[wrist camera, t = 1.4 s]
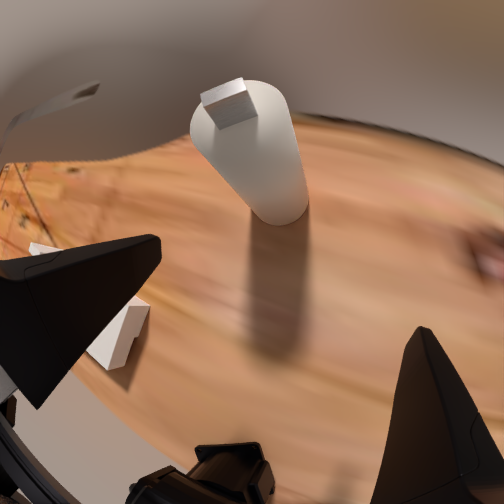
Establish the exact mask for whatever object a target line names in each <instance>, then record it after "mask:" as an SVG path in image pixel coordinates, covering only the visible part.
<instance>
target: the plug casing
mask: <svg viewBox="0 0 504 504" xmlns="http://www.w3.org/2000/svg"><path fill="white" fill-rule="evenodd" d="M200 96H201V100H202V102H201V103H200V105H199V106H198V107H197V109H196V111H195V113H194V115H193V117H192V120H191V125H190V135H191V139H192V141H193V144H194V145H195V147H196V148H197V149H198V150H199V151H200V152H201V154H202V155H203V156H204V157H205V158H206V159H207V160H208V161H209V162H210V163H211V165H212V166H213V167H214V168H215V169H216V170H217V171H218V172H219V173H220V175H221V176H222V177H223V178H224V179H225V180H226V181H227V182H228V183H229V185H230V186H231V187H232V188H233V189H234V190H235V191H236V192H237V194H238V195H239V196H240V197H241V198H242V199H243V200H244V201H245V203H246V204H247V205H248V206H249V207H250V208H251V209H252V211H253V212H254V213H255V214H256V215H257V216H258V217H259V218H260V219H261V220H262V221H264V222H265V223H268V224H270V225H275V226H282V225H287V224H290V223H292V222H294V221H296V220H297V219H299V218H300V217H301V216H302V215H303V213H304V212H305V210H306V208H307V206H308V201H309V193H308V188H307V183H306V179H305V174H304V170H303V166H302V161H301V157H300V153H299V149H298V145H297V141H296V137H295V133H294V129H293V125H292V121H291V117H290V114H289V110H288V107H287V104H286V101H285V98H284V97H283V95H282V94H281V93H280V91H278V90H277V89H276V88H275V87H273V86H271V85H269V84H267V83H264V82H261V81H253V80H246V81H243V79H242V77H241V78H238V79H235V80H233V81H230V82H228V83H225V84H223V85H220V86H218V87H215V88H213V89H211V90H208V91H206V92H204V93H201V94H200Z"/></svg>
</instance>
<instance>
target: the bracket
mask: <svg viewBox="0 0 504 504" xmlns="http://www.w3.org/2000/svg"><path fill="white" fill-rule="evenodd" d="M61 250H62V249H58V248H53V247H49V246H45V245H41V244H36V243H32V242H31V244H30V247H29V252H30V253H31V254H32V255H33V256H34V255H40V254H46V253H51V252H56V251H61ZM62 251H63V250H62ZM149 308H150V305H148V304H147V303H145V302H144V301H142V300H141V299H139V298H138V297H136V296H135V295H134V297H133V298H132V299H131V300H130V301H129V302H128V303H127V304H126V305H125V306H124V307H123V309H122V310H121V311H120V312H119V313H118V314H117V315H116V316H115V317H114V319H113V320H112V321H111V322H110V323H109V324H108V325H107V326H106V328H105V329H104V330H103V331H102V332H101V333H100V334H99V336H98V337H97V338H96V339H95V340H94V341H93V343H92V344H91V345H90V346H89V347H88V348H87V350H86V351H87V352H88V353H89V354H90V355H91V356H92V357H93V358H94V359H95V360H97V361H98V362H99V363H100V364H101V365H102V366H103V367H104V368H105V369H106V370H111V369H115V368H119V367H123V366H124V365H125V362H126V359H127V357H128V354H129V351H130V348H131V345H132V342H133V340H134V337H138V336H139V334H140V331H141V328H142V326H143V323H144V321H145V318H146V315H147V313H148V310H149Z"/></svg>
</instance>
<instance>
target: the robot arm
mask: <svg viewBox="0 0 504 504" xmlns="http://www.w3.org/2000/svg"><path fill="white" fill-rule="evenodd" d="M161 259H162V252H161V240H160V238H159V237H158V236H155V235H152V234H146V235H140V236H135V237H129V238H123V239H118V240H112V241H107V242H102V243H96V244H91V245H86V246H81V247H76V248H71V249H66V250H63V251H62V250H61V251H56V252H51V253H46V254H40V255H34V256H28V257H22V258H16V259H10V260H0V504H31V502H32V503H33V504H81V503H80V502H79V501H78V500H77V499H76V498H74V497H73V496H72V495H71V494H70V493H69V492H68V491H67V490H66V489H65V488H64V487H63V486H62V485H61V484H60V483H59V482H58V481H57V480H56V479H55V478H54V477H53V476H52V475H51V474H50V473H49V472H48V471H47V470H46V469H45V468H44V467H43V465H42V464H41V463H40V462H39V461H38V460H37V459H36V458H35V456H34V455H33V454H32V453H31V452H30V451H29V449H28V448H27V447H26V446H25V444H24V443H23V442H22V441H21V439H20V438H19V437H18V435H17V434H16V433H15V431H14V430H13V429H12V428H13V427H14V425H15V413H16V402H17V399H16V398H15V396H14V395H13V393H14V392H16V390H18V389H19V390H20V391H21V392H22V394H23V395H24V396H25V397H26V398H27V399H28V401H29V402H30V403H31V404H32V405H33V406H34V407H35V409H36V410H38V409H39V408H40V407H41V406H42V404H43V403H44V402H45V400H46V399H47V398H48V396H49V395H50V394H51V393H52V391H53V390H54V389H55V387H56V386H57V385H58V384H59V383H60V381H61V380H62V379H63V378H64V376H65V375H66V374H67V372H68V370H70V369H71V367H72V366H73V365H74V364H75V363H76V361H77V360H78V359H79V358H80V357H81V355H82V354H83V353H84V352H85V351H86V350H87V348H88V347H89V346H90V345H91V344H92V343H93V341H94V340H95V339H96V338H97V337H98V336H99V334H100V333H101V332H102V331H103V330H104V329H105V328H106V326H107V325H108V324H109V323H110V322H111V321H112V320H113V319H114V317H115V316H116V315H117V314H118V313H119V312H120V311H121V310H122V309H123V307H124V306H125V305H126V304H127V303H128V302H129V301H130V300H131V299H132V298H133V297H134V295H135V294H136V293H137V292H138V291H139V289H140V288H141V287H142V286H143V284H144V283H145V282H146V280H147V279H148V278H149V276H150V275H151V274H152V273H153V271H154V270H155V269H156V267H157V266H158V265H159V263H160V262H161ZM252 446H255V447H256V448H253V447H252ZM199 449H200V450H201V451H200V450H199ZM195 453H196V456H197V458H198V461H199V462H198V463H197V464H196V465H195V466H194V467H193V468H192V469H191V470H190V471H189V472H188V473H187V474H186V475H185V474H183V473H181V472H180V471H178V470H176V468H175V467H173V466H171V465H170V466H167V467H165V468H162V469H160V470H158V471H156V472H154V473H152V474H149V475H147V476H145V477H142V478H140V479H139V480H138V482H137V483H133V484H131V486H130V487H129V491H130V494H129V495H128V497H127V499H126V502H125V504H265V503H266V500H267V498H268V495H271V494H273V493H274V490H275V489H274V486H273V483H274V478H273V475H272V472H271V469H270V466H269V462H268V461H266V460H265V459H264V455H263V452H262V449H261V446H260V444H259V443H257V442H247V443H235V444H218V445H198V446H197V447H195ZM18 488H20V489H21V491H22V492H23V493H24V494H25V496H26V497H27V498H28V499H29V500H30V501H31V502H29V501H28V500H27V499H26V498H25V497H24V496H23V495H21V494H20V493H18V492H17V489H18ZM270 490H271V491H270ZM370 504H504V459H503V457H502V455H501V453H500V451H499V450H498V448H497V446H496V444H495V442H494V440H493V438H492V437H491V435H490V433H489V431H488V429H487V427H486V425H485V423H484V421H483V419H482V417H481V415H480V413H479V412H478V409H477V407H476V405H475V403H474V401H473V399H472V398H471V396H470V394H469V392H468V390H467V388H466V387H465V385H464V383H463V381H462V379H461V378H460V376H459V374H458V373H457V371H456V369H455V367H454V366H453V364H452V362H451V361H450V359H449V358H448V356H447V354H446V353H445V351H444V349H443V348H442V346H441V345H440V343H439V342H438V340H437V338H436V337H435V335H434V334H433V332H432V331H431V330H430V329H429V328H425V327H422V326H419V327H418V328H417V329H416V330H415V332H414V333H413V335H412V336H411V338H410V340H409V341H408V343H407V344H406V346H405V349H404V353H403V359H402V363H401V368H400V373H399V377H398V381H397V386H396V390H395V395H394V402H393V408H392V414H391V420H390V426H389V431H388V436H387V441H386V446H385V450H384V455H383V459H382V463H381V467H380V471H379V475H378V478H377V482H376V485H375V489H374V492H373V495H372V499H371V502H370Z"/></svg>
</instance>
